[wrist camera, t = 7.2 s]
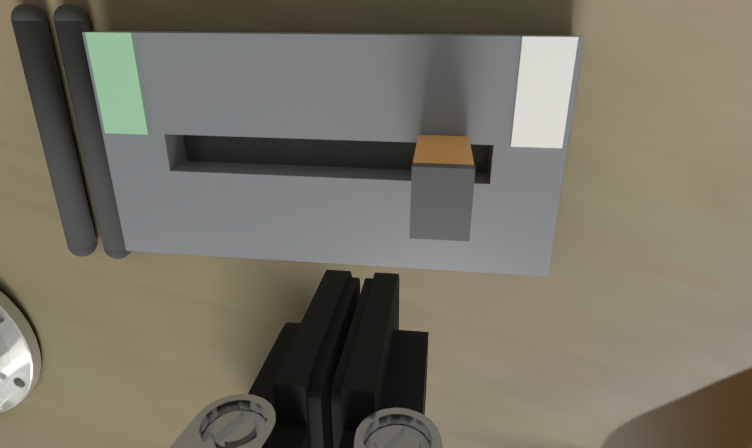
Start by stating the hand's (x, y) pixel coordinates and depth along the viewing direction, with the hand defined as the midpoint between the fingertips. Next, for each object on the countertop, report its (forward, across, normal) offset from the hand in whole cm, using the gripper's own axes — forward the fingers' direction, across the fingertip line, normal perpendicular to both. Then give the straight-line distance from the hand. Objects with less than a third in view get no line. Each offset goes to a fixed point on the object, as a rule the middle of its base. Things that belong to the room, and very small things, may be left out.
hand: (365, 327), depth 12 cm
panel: (+17, +4, 0) cm, 18 cm away
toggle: (+18, -2, 0) cm, 18 cm away
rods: (+17, +19, 0) cm, 26 cm away
